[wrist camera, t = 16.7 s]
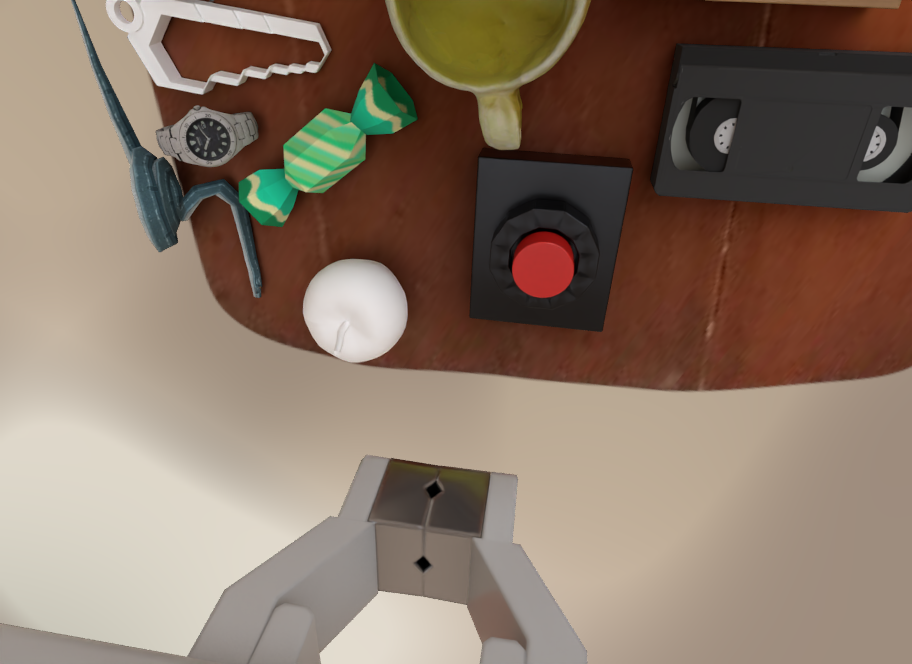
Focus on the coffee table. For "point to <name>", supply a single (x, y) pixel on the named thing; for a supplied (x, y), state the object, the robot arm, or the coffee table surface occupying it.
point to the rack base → (832, 3)
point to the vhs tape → (788, 127)
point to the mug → (488, 50)
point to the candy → (327, 148)
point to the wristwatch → (208, 136)
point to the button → (543, 264)
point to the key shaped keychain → (159, 3)
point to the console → (553, 210)
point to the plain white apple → (355, 309)
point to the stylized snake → (166, 181)
